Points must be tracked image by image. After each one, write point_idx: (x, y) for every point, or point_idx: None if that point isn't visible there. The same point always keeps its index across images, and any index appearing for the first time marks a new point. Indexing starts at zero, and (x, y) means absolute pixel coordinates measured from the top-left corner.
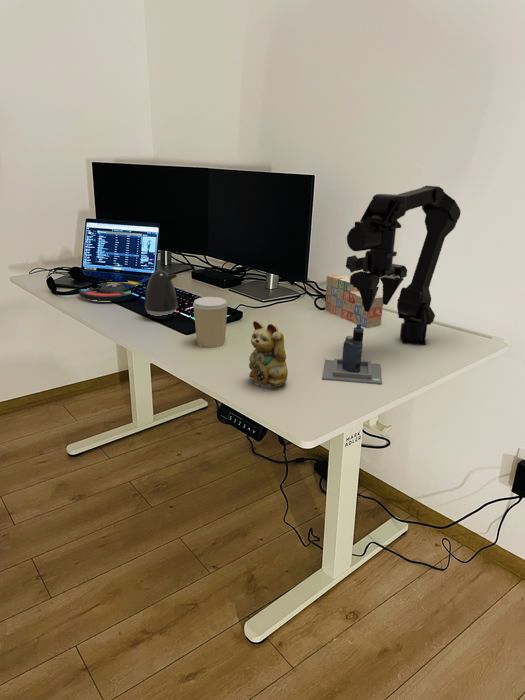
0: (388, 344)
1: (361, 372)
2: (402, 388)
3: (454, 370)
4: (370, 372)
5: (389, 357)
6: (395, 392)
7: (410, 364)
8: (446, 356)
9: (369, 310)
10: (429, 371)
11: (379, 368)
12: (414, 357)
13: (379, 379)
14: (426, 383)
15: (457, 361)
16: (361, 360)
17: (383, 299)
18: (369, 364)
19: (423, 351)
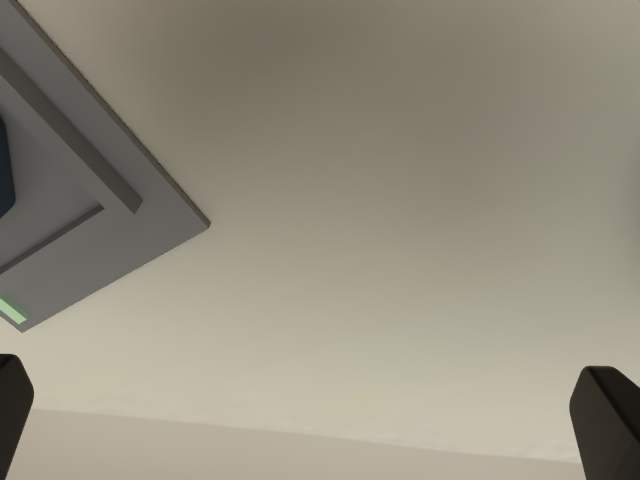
0: (627, 76)
1: (16, 215)
2: (78, 387)
3: (416, 444)
4: (5, 285)
5: (369, 202)
6: None
7: (350, 317)
8: None
9: (20, 419)
10: (331, 393)
11: (149, 253)
12: (466, 294)
13: (24, 320)
14: (202, 422)
15: (536, 426)
16: (89, 167)
17: (624, 433)
18: (85, 231)
19: (599, 291)
